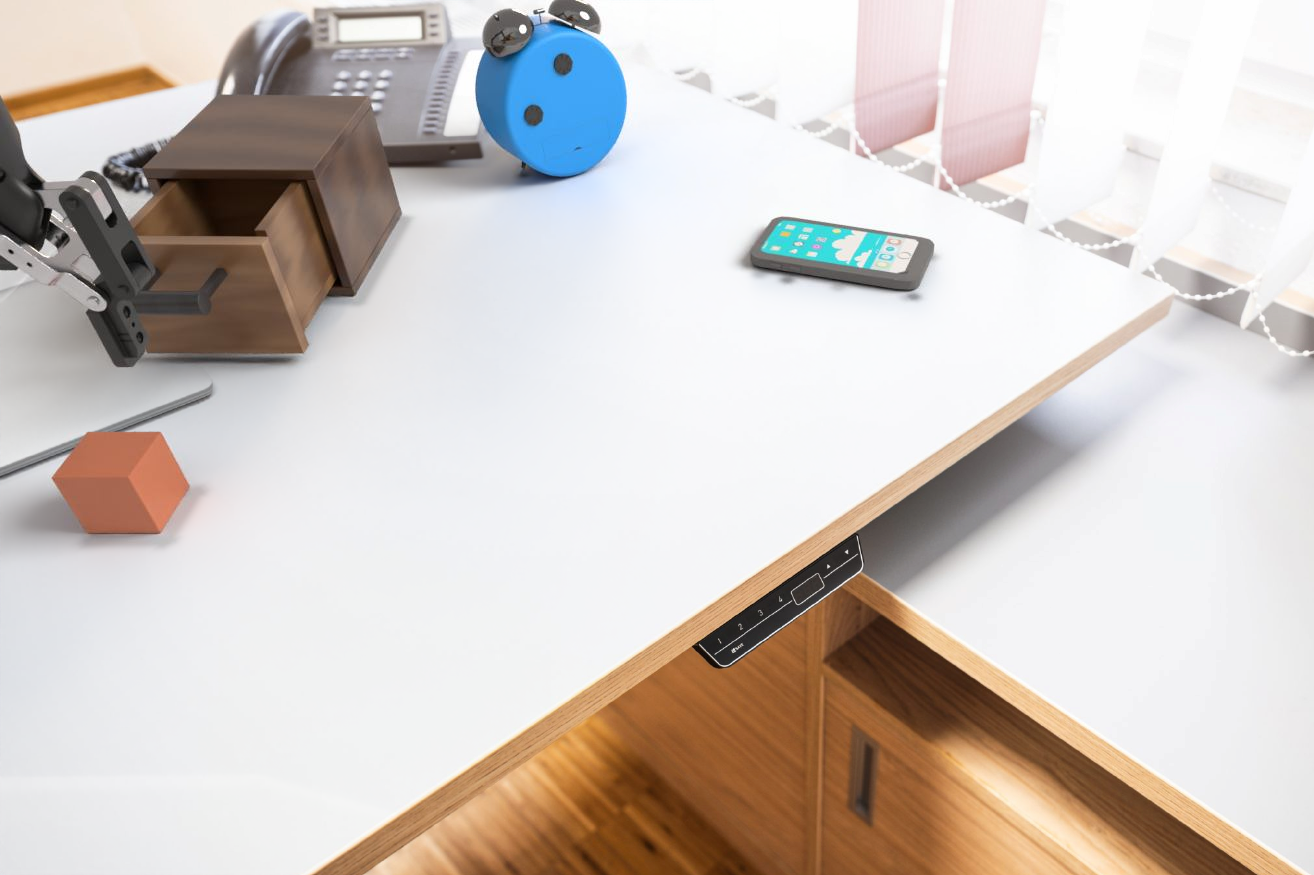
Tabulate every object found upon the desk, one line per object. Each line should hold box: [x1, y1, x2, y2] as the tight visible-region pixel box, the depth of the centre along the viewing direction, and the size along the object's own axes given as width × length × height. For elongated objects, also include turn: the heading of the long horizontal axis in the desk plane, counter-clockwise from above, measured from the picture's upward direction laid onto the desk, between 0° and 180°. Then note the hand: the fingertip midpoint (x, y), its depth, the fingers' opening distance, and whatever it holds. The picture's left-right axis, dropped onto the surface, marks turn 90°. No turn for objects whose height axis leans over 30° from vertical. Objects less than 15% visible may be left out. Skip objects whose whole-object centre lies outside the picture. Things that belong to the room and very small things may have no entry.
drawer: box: [128, 179, 339, 355], centre depth 77 cm, size 18×11×9 cm, turn 2°
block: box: [51, 431, 190, 534], centre depth 65 cm, size 4×4×4 cm
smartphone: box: [749, 216, 935, 291], centre depth 91 cm, size 9×1×15 cm
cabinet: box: [141, 93, 403, 297], centre depth 87 cm, size 15×13×11 cm
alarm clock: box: [474, 0, 628, 177], centre depth 98 cm, size 13×6×15 cm, turn 131°
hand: (54, 360), depth 59 cm, fingers open, 8 cm apart
